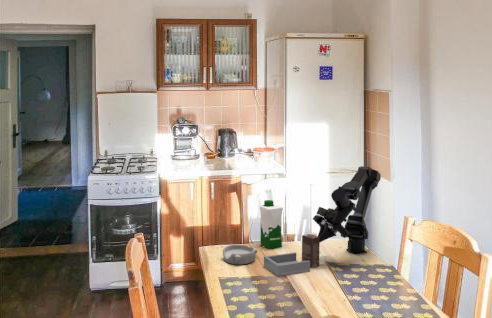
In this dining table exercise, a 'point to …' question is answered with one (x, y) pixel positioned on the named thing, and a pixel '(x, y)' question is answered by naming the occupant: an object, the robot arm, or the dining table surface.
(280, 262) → the tray
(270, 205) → the milk carton
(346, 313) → the dining table surface
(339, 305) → the dining table surface
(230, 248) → the dish
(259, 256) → the dining table surface
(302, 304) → the dining table surface
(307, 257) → the box
